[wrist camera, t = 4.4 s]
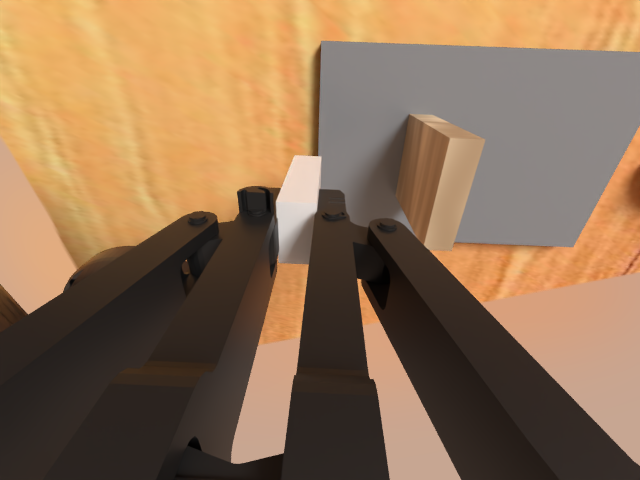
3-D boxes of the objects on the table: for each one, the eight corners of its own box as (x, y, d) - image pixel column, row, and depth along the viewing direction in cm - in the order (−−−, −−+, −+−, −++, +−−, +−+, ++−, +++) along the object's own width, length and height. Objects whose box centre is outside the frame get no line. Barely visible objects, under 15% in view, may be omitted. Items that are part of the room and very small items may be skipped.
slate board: (316, 229, 26) (315, 236, 25) (321, 42, 19) (321, 40, 18) (563, 240, 26) (573, 247, 25) (660, 54, 19) (679, 53, 18)
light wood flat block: (395, 195, 23) (422, 249, 16) (409, 114, 20) (450, 138, 13) (416, 196, 23) (452, 250, 16) (433, 114, 20) (486, 139, 13)
